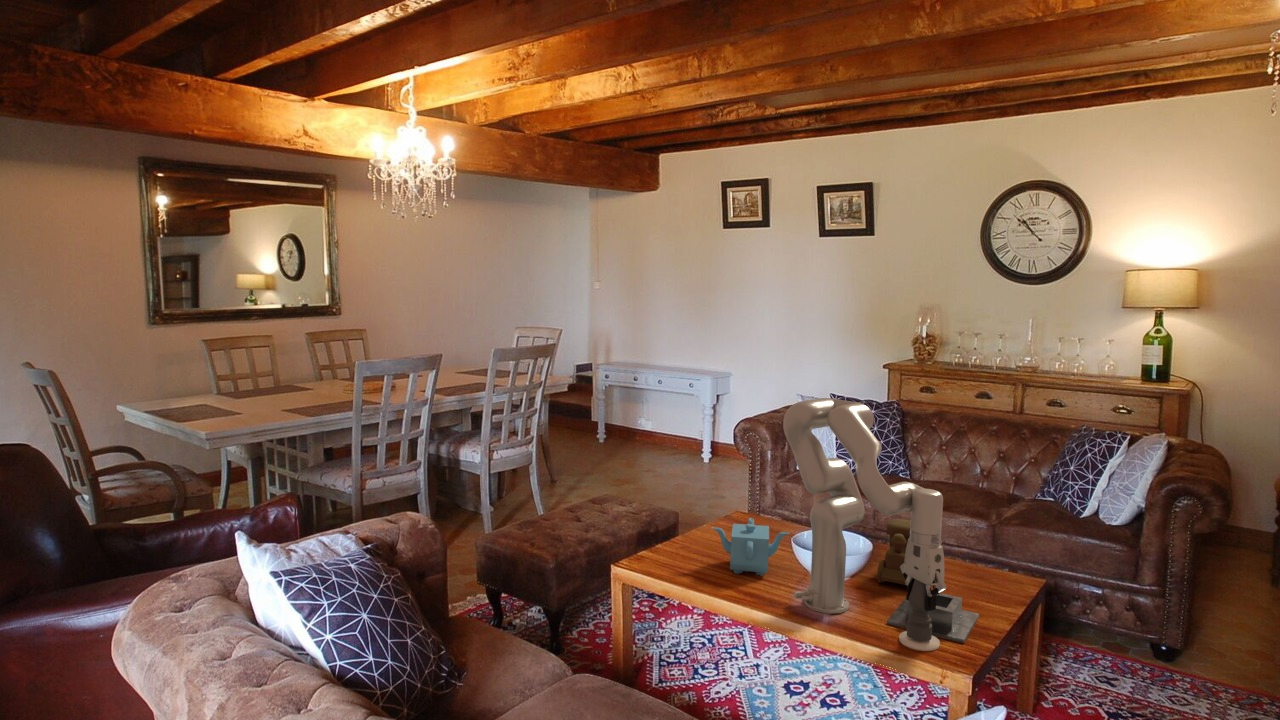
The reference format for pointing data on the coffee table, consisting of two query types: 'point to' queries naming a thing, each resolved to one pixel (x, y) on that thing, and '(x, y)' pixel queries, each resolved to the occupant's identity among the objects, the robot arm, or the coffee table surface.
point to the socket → (941, 618)
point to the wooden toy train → (895, 552)
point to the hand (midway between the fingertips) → (920, 604)
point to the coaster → (919, 643)
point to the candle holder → (918, 610)
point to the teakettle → (749, 547)
